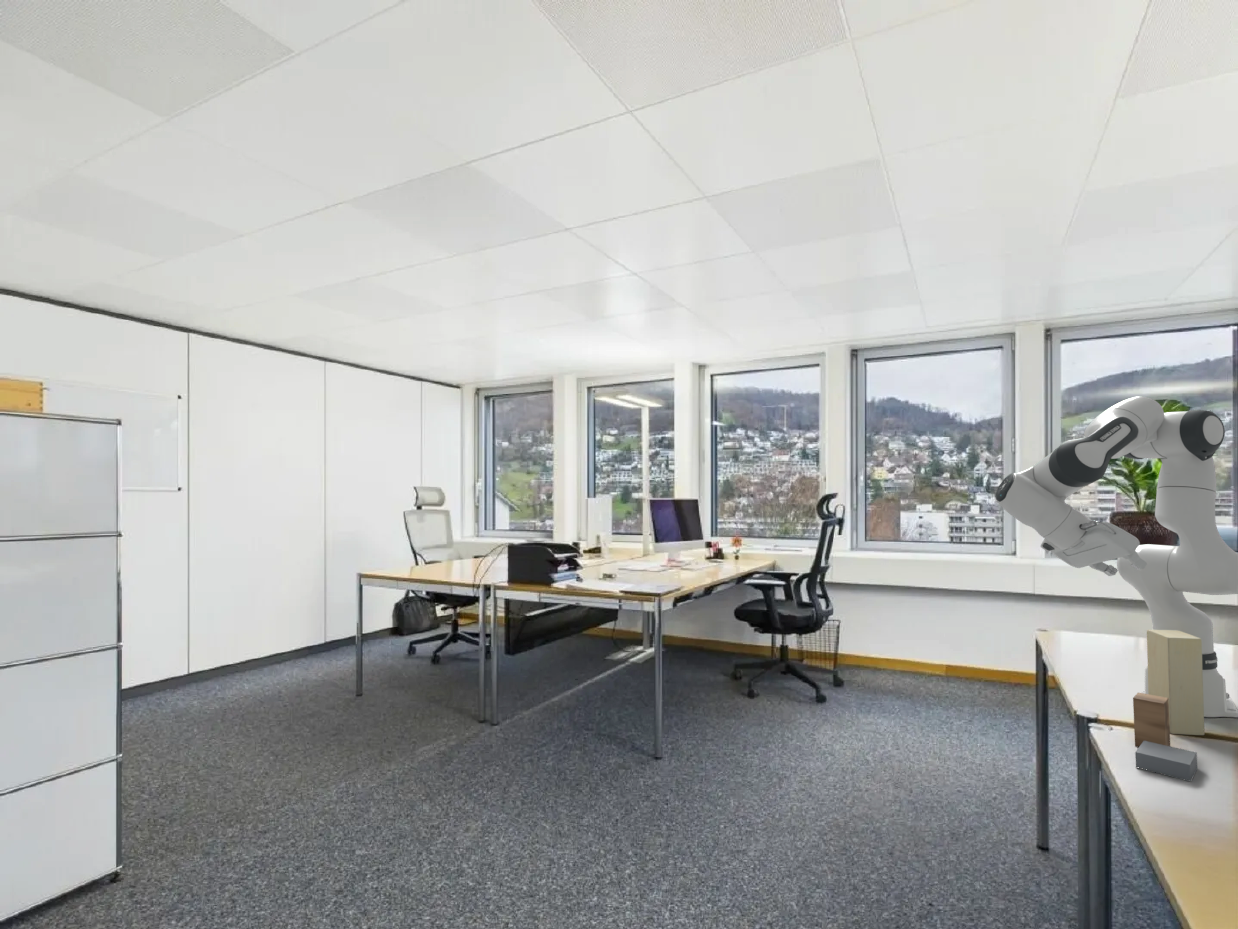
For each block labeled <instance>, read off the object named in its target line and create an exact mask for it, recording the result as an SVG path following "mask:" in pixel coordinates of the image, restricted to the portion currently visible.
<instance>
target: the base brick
mask: <svg viewBox="0 0 1238 929" xmlns="http://www.w3.org/2000/svg"><path fill="white" fill-rule="evenodd" d="M1197 753H1198V752H1196V751H1192V750H1187V749H1183V748H1178V747H1174V746H1171V745H1170V746H1166V745H1162V744H1157V743H1153V742H1148V741H1143V742H1142V744H1141V745H1140V746H1139V747H1137V749H1136V750H1135V752H1134V754H1135V768H1136V767H1139V768H1143V769H1145V770H1144V771H1147V770H1149V771H1148V772H1151V771H1153V772H1152V773H1155V772H1156V774H1159V773H1162V774H1161V775H1163V774H1165V775H1164V776H1167V775H1168V777H1171V776H1172V777H1171V778H1176V779H1180V780H1183V779H1185V780H1184V781H1187V780H1188V781H1187V782H1191V781H1192V780H1193V777H1194V776H1195V774H1196V772H1197V769H1198V754H1197ZM1139 768H1138V769H1139ZM1143 769H1142V770H1143ZM1146 769H1147V770H1146Z"/></svg>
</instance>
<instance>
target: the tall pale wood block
mask: <svg viewBox="0 0 1238 929" xmlns="http://www.w3.org/2000/svg"><path fill="white" fill-rule="evenodd" d="M1146 645H1147V646H1146V653H1147V666H1148V693H1149V694H1150V695H1155V696H1161V697H1166V698H1168V700H1169V724H1170V735H1171V734H1174V735H1188V736H1189V735H1191V736H1205V717H1204V703H1203V670H1202V640H1201V638H1198V637H1195V636H1193V635H1190V634H1187V633H1184V632H1182V631H1178V630H1153V629H1147V630H1146Z"/></svg>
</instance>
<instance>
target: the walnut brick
mask: <svg viewBox="0 0 1238 929" xmlns="http://www.w3.org/2000/svg"><path fill="white" fill-rule="evenodd" d="M1132 700H1133V701H1132V704H1133V706H1132V707H1133V724H1134V725H1133V729H1134V731H1133V732H1134V733H1133V734H1134V747H1136V746H1140V745H1141V744H1142V742H1143V741H1148V742H1153V743H1157V744H1162V745H1166V746H1171V733H1170V724H1169V700H1168V698H1166V697H1161V696H1155V695H1150V694H1144V693H1141V692H1137V693H1136V694H1135V695H1134V696H1133V697H1132Z"/></svg>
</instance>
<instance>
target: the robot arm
mask: <svg viewBox="0 0 1238 929" xmlns="http://www.w3.org/2000/svg"><path fill="white" fill-rule="evenodd" d="M1083 432H1084V433H1083V434H1084V436H1083V437H1080V438H1075V439H1074V438H1073V439H1068V440H1066V441H1064V442H1063V443H1061V444H1060V445H1058V446H1057V447H1056V448H1055V449H1054V450H1053V451H1052V452H1050V453H1049V454H1048V455H1046V456H1045V457H1043V458H1042V459H1041V460H1039V461H1038V462H1036V463H1035V464H1033V465H1032V466H1030V467H1028V468H1027V469H1025V470H1022V471H1020V472H1012V473H1009V474H1008V475H1006V476H1005V477H1004V478H1003V480H1002V481H1001V483H1000V484H999V485H998V487H997V488H996V491H995V499H996V500H995V501H996V502H997V504H998V505H999V506H1000V507H1001V508H1002V509H1003V510H1005V511H1006V512H1007V513H1008V514H1009V515H1010V516H1012V517H1013V518H1015V519H1016V520H1018V521H1019V522H1020V523H1022V524H1023V525H1025V526H1028V527H1030V528H1032V529H1034V530H1035V532H1037V533H1038V535H1039V536H1040V537H1042V538H1043V541H1042V542H1041V543H1040V548H1041V549H1042V550H1043V551H1046V552H1051V553H1052V555H1054V556H1055V557H1057V558H1058V560H1059V559H1060V560H1061V561H1063V562H1064V563H1066V564H1068V565H1069V566H1071V567H1073V568H1077V569H1081V568H1085V567H1089V568H1091V569H1094V570H1095V571H1099V572H1101V573H1104V575H1107V576H1108V577H1112V576H1116V574H1117V572H1118V574H1119V575H1120V576H1121V578H1122V579H1123V580H1124V581H1125V582H1127V583H1128V584H1129V585H1131V586H1132V587H1133V588H1134V589H1135V590H1136V591H1137V592H1138V593H1139V595H1140V596H1141V597H1142V599H1143V600H1144V602H1145V604H1146V606H1147V608H1148V610H1149V614H1150V618H1151V625H1152V630H1178V631H1182V632H1184V633H1187V634H1190V635H1193V636H1195V637H1198V638H1201V640H1202V670H1203V703H1204V718H1220V717H1225V718H1226V717H1227V718H1238V709H1237V706H1236V705H1235V703H1234V701H1233V699H1232V698H1231V697H1230V694H1229V692H1227V687H1226V686H1227V685H1226V684H1227V683H1226V679H1225V678H1224V676H1222V675H1221V674H1220V673H1219V671H1218V669H1217V668H1218V662H1219V661H1218V660H1219V659H1218V656H1217V653H1216V651H1215V649H1214V648H1215V646H1214V625H1213V622H1212V620H1211V618H1210V616H1209V615H1208V614H1207V613H1206V612H1204V611H1202V610H1201V609H1199V608H1198V607H1196V606H1193V605H1192V604H1191V603H1190V602H1189V601H1188V600H1187V599H1186V597H1185V595H1184V593H1192V594H1201V595H1209V596H1226V595H1229V596H1230V595H1238V552H1237V551H1235V550H1233V549H1232V548H1231V547H1230V546H1229V545H1228V544H1227V543H1226V542H1225V540H1224V539H1223V538H1222V536H1221V535H1220V532H1219V531H1218V527H1217V523H1216V499H1217V498H1216V494H1217V476H1216V473H1217V472H1216V466H1215V461H1214V458H1213V456H1214V455H1215V453H1216V452H1217V450H1219V448H1220V447H1221V445H1222V444H1223V441H1224V439H1225V432H1226V429H1225V426H1224V423H1223V421H1222V419H1221V418H1220V416H1218V415H1217V414H1216V413H1215V412H1213V411H1211V410H1207V409H1206V410H1205V409H1190V410H1187V411H1186V410H1184V411H1183V410H1182V411H1169V412H1164V409H1163V407H1162V405H1161V404H1160V403H1159V402H1158V401H1156V400H1155V399H1153V398H1150V397H1148V396H1139V395H1138V396H1133V397H1129V398H1127V399H1124V400H1122V401H1120V402H1118V403H1116V404H1114V405H1112V406H1110V407H1108V408H1107V409H1105V410H1104V411H1103V412H1101V413H1100V414H1098V415H1097V416H1096V417H1094V419H1092V421H1091V422H1090V423H1089V424H1088V425H1087V426H1086V428H1085V429H1084V430H1083ZM1121 457H1124V458H1127V459H1132V460H1133V459H1134V460H1143V459H1160V461H1161V467H1160V469H1159V473H1158V479H1157V484H1156V485H1157V486H1156V493H1155V494H1156V496H1155V498H1156V499H1155V507H1154V517H1155V519H1156V521H1157V522H1158V524H1159V525H1161V526H1162V527H1163V528H1166V529H1167V530H1169V531H1171V532H1173V533H1175V534H1176V535H1178V538H1179V545H1169V544H1168V545H1167V544H1154V543H1153V544H1152V543H1151V544H1150V543H1147V544H1141V542H1140V540H1139V539H1138V538H1137V537H1136V536H1135V535H1133V534H1131V533H1129V532H1128V531H1126V530H1124V529H1123V528H1121V527H1119V526H1117V525H1115V524H1113V523H1112V522H1109V521H1097V520H1095V519H1094V520H1092V519H1091V518H1090V517H1088V516H1086V515H1085V514H1083V513H1082V512H1080V511H1079V510H1077V509H1076V508H1074V507H1073V506H1072V505H1071V504H1067V503H1066V498H1068V497H1070V496H1071V495H1073V494H1075V493H1076V492H1078V491H1080V490H1082V489H1083V488H1085V487H1086V486H1089V485H1091V484H1093V483H1095V482H1097V481H1099V480H1100V479H1101V478H1102V477H1103V476H1104V475H1105V473H1106V472H1107V470H1108V466H1109V464H1110V460H1111V459H1114V460H1115V459H1119V458H1121ZM1112 560H1116V567H1117V568H1116V567H1114V565H1112V564H1107V563H1105V562H1109V561H1112ZM1140 693H1144V694H1149V693H1148V665H1147V666H1145V667H1144V691H1141V692H1140Z"/></svg>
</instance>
